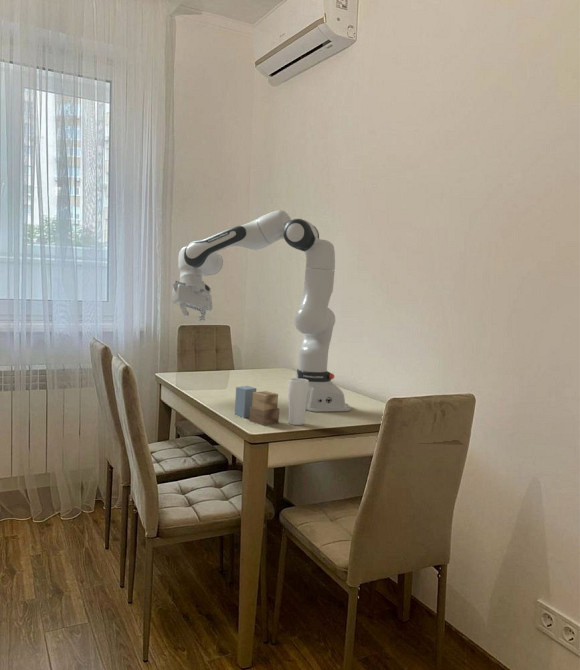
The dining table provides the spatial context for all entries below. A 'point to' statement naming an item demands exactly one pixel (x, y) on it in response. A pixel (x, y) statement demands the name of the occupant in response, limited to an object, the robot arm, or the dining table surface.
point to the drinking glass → (297, 400)
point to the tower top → (265, 400)
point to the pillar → (244, 400)
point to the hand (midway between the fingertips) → (194, 318)
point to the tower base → (264, 416)
